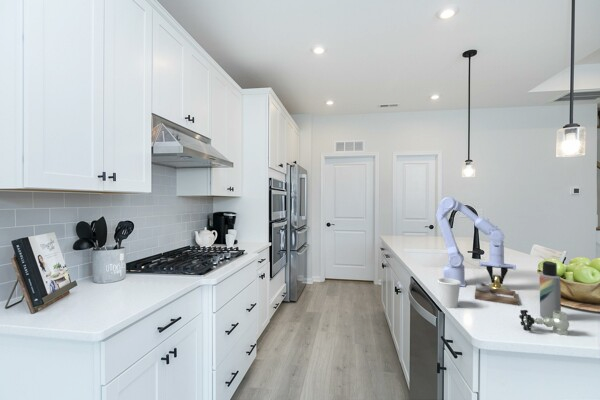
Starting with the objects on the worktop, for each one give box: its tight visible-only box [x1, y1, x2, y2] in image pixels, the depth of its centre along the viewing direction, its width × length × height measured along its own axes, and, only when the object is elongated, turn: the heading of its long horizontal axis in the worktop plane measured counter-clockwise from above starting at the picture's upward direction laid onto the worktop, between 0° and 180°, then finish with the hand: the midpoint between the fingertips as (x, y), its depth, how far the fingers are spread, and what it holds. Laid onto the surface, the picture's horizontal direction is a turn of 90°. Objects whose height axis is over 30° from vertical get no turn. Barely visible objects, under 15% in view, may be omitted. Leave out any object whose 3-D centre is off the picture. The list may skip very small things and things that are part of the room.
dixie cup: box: [437, 278, 461, 309], centre depth 118 cm, size 8×8×10 cm
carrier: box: [474, 282, 519, 306], centre depth 128 cm, size 15×16×5 cm
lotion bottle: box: [539, 260, 562, 319], centre depth 105 cm, size 6×6×20 cm
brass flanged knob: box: [487, 274, 507, 290], centre depth 138 cm, size 7×7×6 cm
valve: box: [518, 309, 570, 336], centre depth 94 cm, size 7×7×12 cm
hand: (497, 283), depth 138 cm, fingers closed on brass flanged knob, 3 cm apart
